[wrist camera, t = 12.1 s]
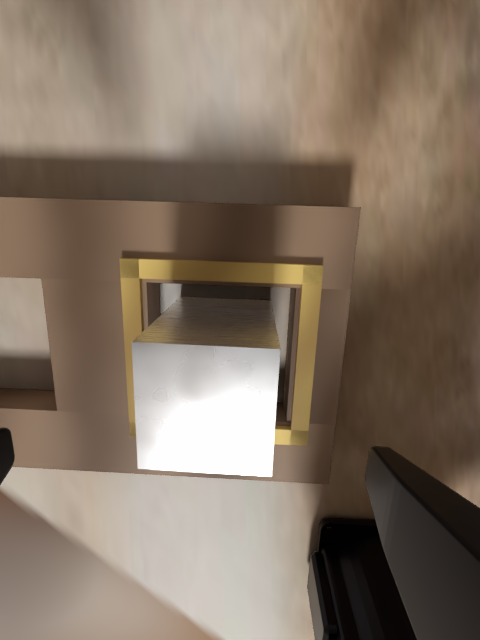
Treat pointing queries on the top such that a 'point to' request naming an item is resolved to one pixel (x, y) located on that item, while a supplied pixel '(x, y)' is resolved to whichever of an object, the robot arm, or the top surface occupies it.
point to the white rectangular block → (207, 387)
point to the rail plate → (144, 308)
